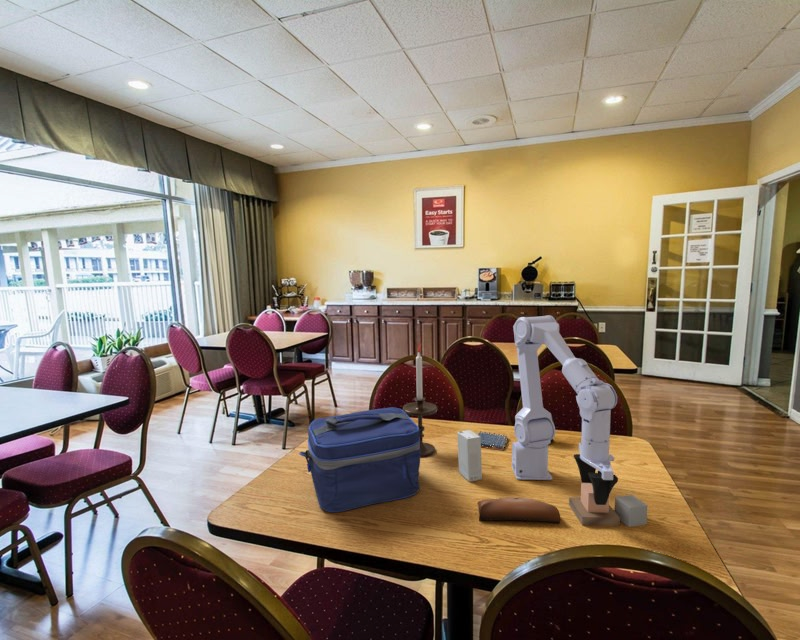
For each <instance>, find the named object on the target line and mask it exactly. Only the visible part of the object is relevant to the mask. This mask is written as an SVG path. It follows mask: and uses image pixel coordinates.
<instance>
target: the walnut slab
mask: <svg viewBox="0 0 800 640" xmlns="http://www.w3.org/2000/svg"><path fill="white" fill-rule="evenodd" d="M568 506H569V507H570V509H571V511H572V512H573V513H574V516H576V518H577V520H578V522H579V523H580V524H581V526H589V527H590V526H591V527H592V526H596V527H599V526H601V527H603V526H604V527H606V526H607V527H609V526H611V527H614V526H616V527H618V526H620V521H621V520H620V517H619V516H618V515H617V514H616V512H615V511H614V508H612V506H611V505H610V504H609V513H605V512H588V511H587V510H586V508H585V507H584V505H583V504H582V502H581V496H579V497H578V496H577V497H575V496H573V497H572V496H571V497H570V496H569V498H568Z"/></svg>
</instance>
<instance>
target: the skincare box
mask: <svg viewBox="0 0 800 640" xmlns="http://www.w3.org/2000/svg"><path fill="white" fill-rule="evenodd" d="M477 434H478V433H477ZM477 434H476V433H475V432H474V431H472V430H470V429H466V430H461V431H458V432H457V452H458V453H457V456H458V473H459V474H460V475H461V476H462V477H463V478H465V479H466V480H467V481H468V482H475V481H480V480H482V479H483V477H482V475H483V473H482V472H483V470H482V468H483V467H482V466H483V465H482V448H481V437H480V436H478V435H477Z"/></svg>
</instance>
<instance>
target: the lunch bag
mask: <svg viewBox="0 0 800 640" xmlns="http://www.w3.org/2000/svg"><path fill="white" fill-rule="evenodd" d="M307 431H308V434H307V435H308V438H307V444H308V445H307V447H308V449H306V450H305V452H304V451H299V452H298V454H299V455H300V456H302V457H304V458H305V460H306V462H307V463H306V466H307V471H308V473H310V474H311V479H312V483H313V487H314V492H315V495H316V498H317V502H318V505H319V508H321V509H322V511H325V512H329V513H339V512H340V513H341V512H345V511H349V510H354V509H358V508H361V507H366V506H369V505H375V504H380V503H385V502H391V501H396V500H401V499H407V498H409V497H412V496H415V495H416V494H417V493H418V492H419V491H420V482H419V475H420V467H421V458H422V457H421V449H420V437H419V435H420V431H419V427H418V424H417V423H416V422H414V421H413V420H412V418H411V417H410V415H408V414H406V413H405V412H404V411H403V409H401V408H398V407H393V406H392V407H391V406H390V407H385V408H377V409H369V410H368V409H367V410H363V411H355V412H350V413H343V414H338V415H332V416H327V417H326V416H325V417H318V418H315V419H313V420H312V422H310V424H309V426H308V430H307Z"/></svg>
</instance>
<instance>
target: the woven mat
mask: <svg viewBox="0 0 800 640" xmlns="http://www.w3.org/2000/svg"><path fill="white" fill-rule="evenodd" d="M477 435H478V436H480V437H481V447H484V446H485V447H488V448H489V447H490V448H492V449H491V450H495V449H498V451H502V450H505V448H504V447H507V445H506V444H507V443H508V440H509V438H508V435H505V433H504V434H501V433H497V434H496V433H495V432H494V433H491V432H489V433H488V432H486V431H484V432H482V431H481V430H479V432H478V433H477ZM504 437H505V438H504ZM506 439H508V440H506ZM506 442H507V443H506ZM505 443H506V444H505ZM493 444H494V445H493ZM482 445H484V446H482ZM490 445H491V446H490ZM492 446H493V447H492ZM495 446H496V447H495ZM488 448H487V449H488ZM500 448H501V449H500ZM499 449H500V450H499Z"/></svg>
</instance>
